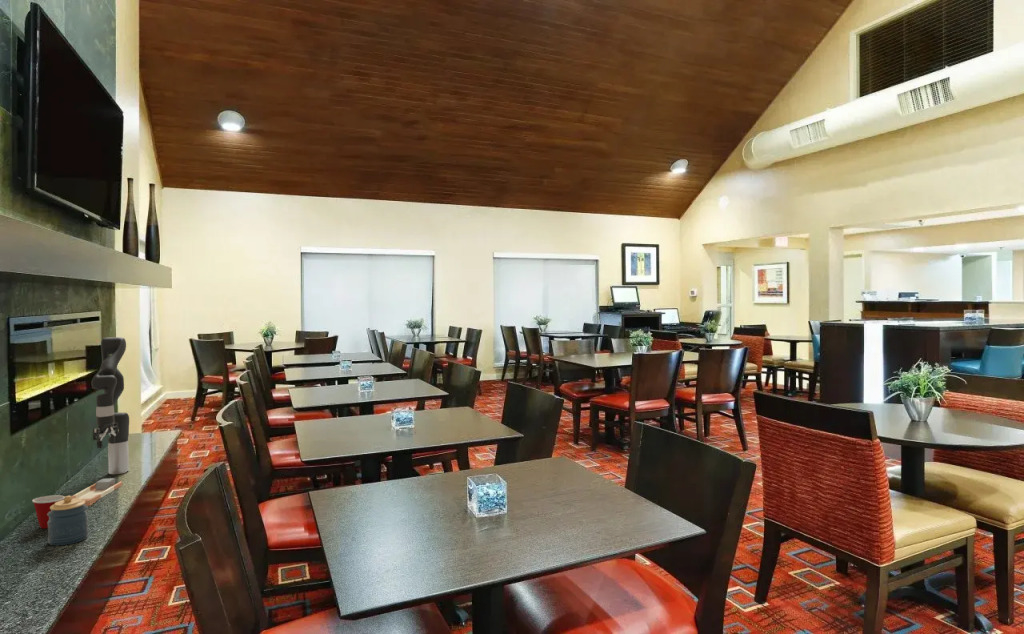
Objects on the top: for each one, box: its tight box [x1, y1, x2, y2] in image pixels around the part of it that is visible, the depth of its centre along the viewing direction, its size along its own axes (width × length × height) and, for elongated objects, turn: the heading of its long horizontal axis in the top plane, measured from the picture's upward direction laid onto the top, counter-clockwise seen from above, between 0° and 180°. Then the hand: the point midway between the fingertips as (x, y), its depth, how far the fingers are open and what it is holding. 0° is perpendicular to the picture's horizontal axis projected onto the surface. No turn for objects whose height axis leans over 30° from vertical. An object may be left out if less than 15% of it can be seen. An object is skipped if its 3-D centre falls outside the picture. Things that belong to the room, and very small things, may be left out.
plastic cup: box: [31, 494, 66, 529], centre depth 246 cm, size 11×11×12 cm
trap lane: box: [70, 481, 124, 507], centre depth 284 cm, size 29×12×2 cm, turn 8°
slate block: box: [95, 477, 116, 490], centre depth 294 cm, size 6×6×4 cm
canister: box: [47, 495, 90, 546], centre depth 232 cm, size 13×13×18 cm
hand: (106, 445), depth 298 cm, fingers open, 8 cm apart
